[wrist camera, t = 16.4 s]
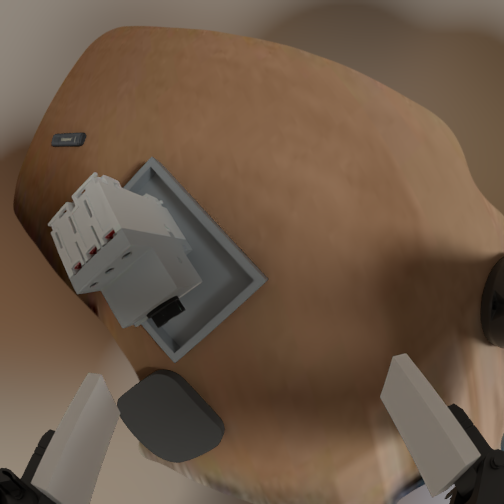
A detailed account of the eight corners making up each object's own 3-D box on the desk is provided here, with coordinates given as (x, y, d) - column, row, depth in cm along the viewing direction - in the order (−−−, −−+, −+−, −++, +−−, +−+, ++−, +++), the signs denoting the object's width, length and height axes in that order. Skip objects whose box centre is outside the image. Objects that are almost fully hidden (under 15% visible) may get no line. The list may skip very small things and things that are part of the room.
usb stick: (53, 147, 41) (48, 145, 39) (58, 135, 41) (53, 132, 39) (83, 147, 40) (78, 144, 38) (88, 133, 39) (83, 130, 38)
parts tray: (268, 279, 35) (266, 281, 32) (183, 356, 36) (174, 363, 33) (161, 163, 37) (151, 156, 34) (93, 241, 38) (81, 240, 35)
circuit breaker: (175, 320, 35) (110, 354, 20) (123, 233, 36) (47, 221, 22) (219, 290, 35) (171, 312, 20) (161, 200, 36) (93, 170, 21)
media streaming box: (170, 359, 36) (161, 366, 34) (235, 430, 35) (232, 441, 32) (116, 398, 38) (106, 405, 35) (173, 459, 36) (167, 469, 33)
